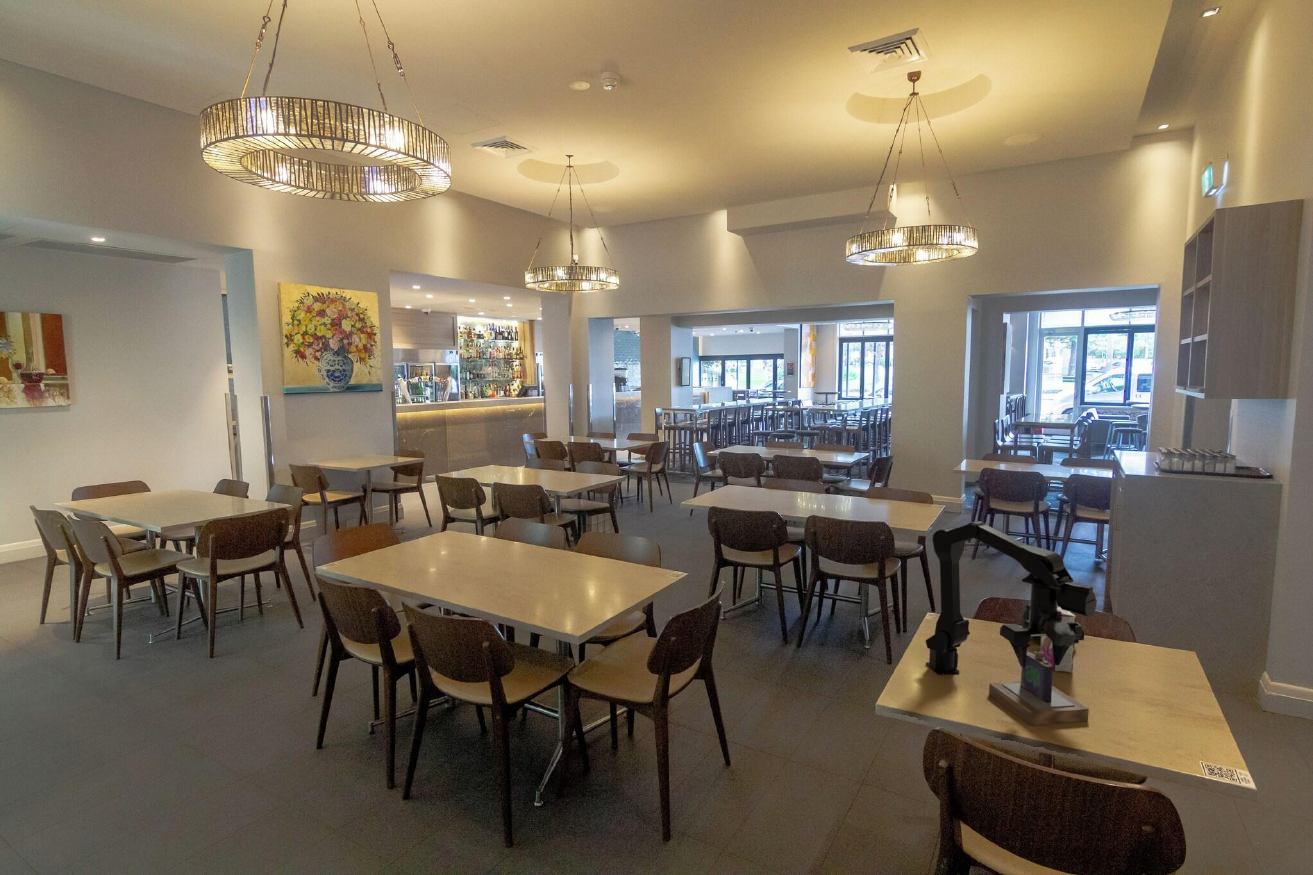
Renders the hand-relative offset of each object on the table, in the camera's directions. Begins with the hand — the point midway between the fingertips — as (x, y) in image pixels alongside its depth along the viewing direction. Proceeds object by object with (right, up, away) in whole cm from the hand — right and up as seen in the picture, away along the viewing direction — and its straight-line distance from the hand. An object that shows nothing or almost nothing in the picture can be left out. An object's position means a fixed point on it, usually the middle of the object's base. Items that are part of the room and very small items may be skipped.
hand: (1039, 665), depth 160 cm
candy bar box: (+19, -9, +26) cm, 33 cm away
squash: (+27, -7, +42) cm, 50 cm away
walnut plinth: (0, -11, +1) cm, 11 cm away
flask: (0, -7, +1) cm, 8 cm away
